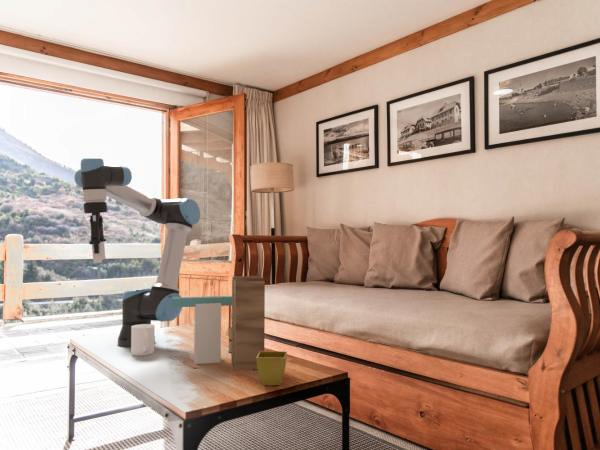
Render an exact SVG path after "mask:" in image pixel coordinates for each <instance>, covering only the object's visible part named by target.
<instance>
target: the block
mask: <svg viewBox="0 0 600 450" xmlns="http://www.w3.org/2000/svg"><path fill="white" fill-rule="evenodd" d="M209 303H221V307H227V306H229V307H230V306H231V307H232V295H219V296H218V295H217V296H216V295H215V296H186V297H185V296H181V297H174V298H172V308H173V307H182V308H195V307H196V304H209Z"/></svg>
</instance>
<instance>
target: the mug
mask: <svg viewBox="0 0 600 450" xmlns="http://www.w3.org/2000/svg"><path fill="white" fill-rule="evenodd" d="M154 336H155V324H152V323H151V324H139V325H134V326H132V327H131V347H130V350H131V351H130V352H131V355H132V356H135V357H136V356H137V357H142V356H143V357H144V356H149V355H153V354H154V352H155V342H154Z"/></svg>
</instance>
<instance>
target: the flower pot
mask: <svg viewBox="0 0 600 450" xmlns="http://www.w3.org/2000/svg"><path fill="white" fill-rule="evenodd" d="M287 354H288V352H287V351H280V350H279V351H275V350H274V351H270V350H269V351H265V350H264V351H260V352H259V354H258V355H257V357H256V359H257V369H258V370H257V375H258V378H259V381H260V383H261V384H262V386H265V385H266V386H273V385H279V386H280V385H281V384H282V381H283V380H284V376H285V375H284V374H285V371H286V367H287V366H286V365H287Z"/></svg>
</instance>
